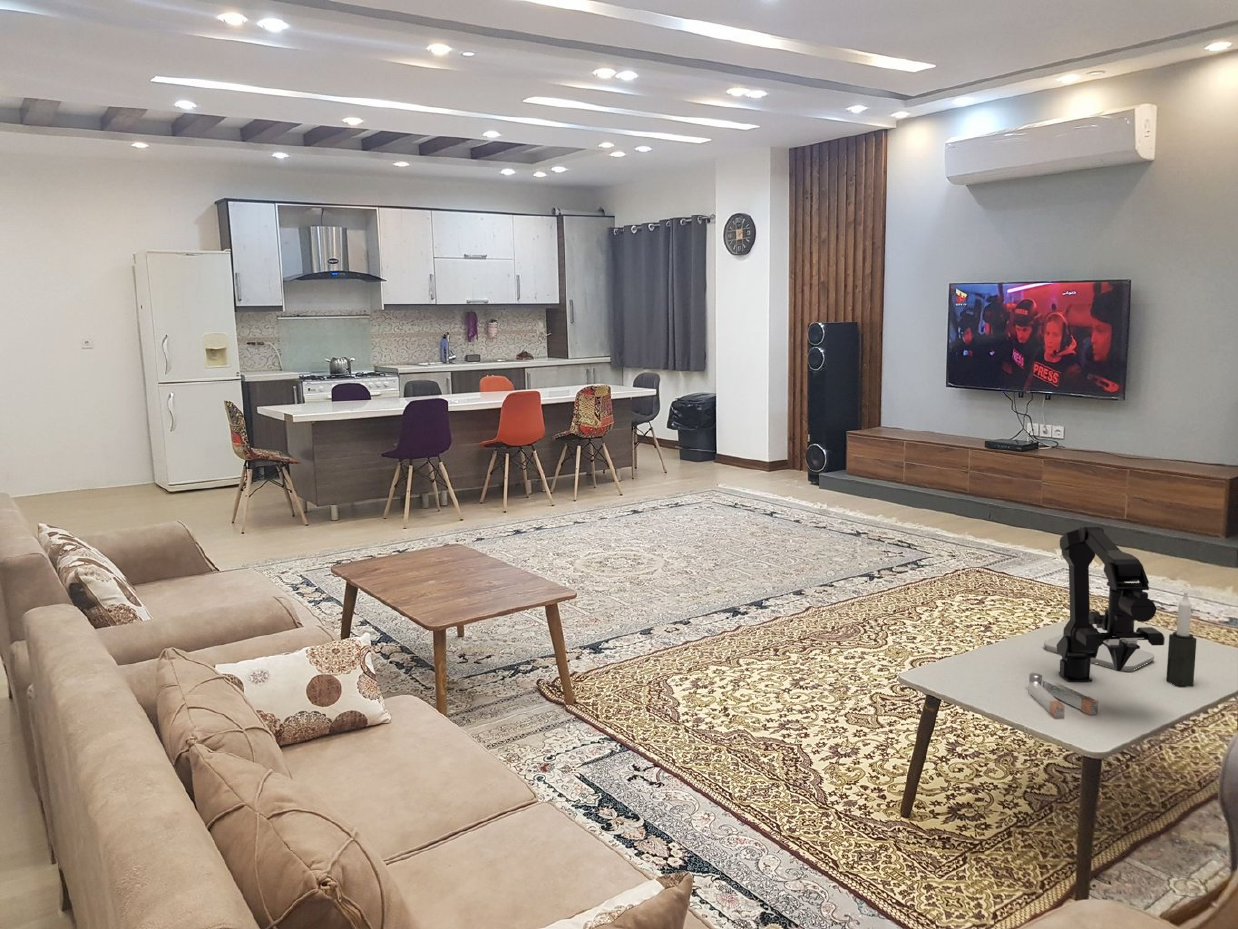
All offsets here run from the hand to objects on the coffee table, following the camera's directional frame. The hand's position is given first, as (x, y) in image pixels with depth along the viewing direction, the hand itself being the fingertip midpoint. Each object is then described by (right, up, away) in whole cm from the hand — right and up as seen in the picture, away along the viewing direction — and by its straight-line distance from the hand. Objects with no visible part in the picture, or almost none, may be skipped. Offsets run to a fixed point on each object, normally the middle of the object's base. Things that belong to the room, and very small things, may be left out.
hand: (1118, 670), depth 231 cm
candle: (+26, -8, +19) cm, 33 cm away
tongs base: (-14, -10, +9) cm, 19 cm away
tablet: (+16, -5, +41) cm, 44 cm away
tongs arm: (-8, -10, +8) cm, 15 cm away
